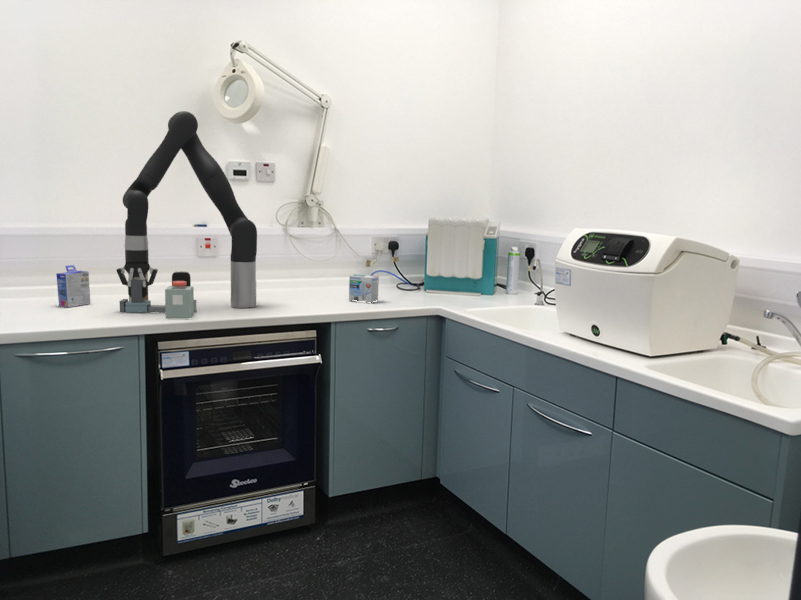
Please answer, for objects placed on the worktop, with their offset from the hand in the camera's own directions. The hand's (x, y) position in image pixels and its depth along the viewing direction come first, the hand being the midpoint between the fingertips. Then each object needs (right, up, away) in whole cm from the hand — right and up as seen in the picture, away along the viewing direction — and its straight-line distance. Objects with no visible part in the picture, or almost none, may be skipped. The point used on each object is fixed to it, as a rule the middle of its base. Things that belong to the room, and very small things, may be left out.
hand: (138, 296), depth 228 cm
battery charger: (+6, -1, +27) cm, 27 cm away
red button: (+17, -5, -6) cm, 19 cm away
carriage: (0, -5, +1) cm, 5 cm away
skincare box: (-5, -3, +13) cm, 14 cm away
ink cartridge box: (-26, -3, +8) cm, 28 cm away
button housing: (+17, -7, -6) cm, 19 cm away
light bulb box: (+77, -2, +39) cm, 87 cm away
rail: (+7, -5, +2) cm, 9 cm away
